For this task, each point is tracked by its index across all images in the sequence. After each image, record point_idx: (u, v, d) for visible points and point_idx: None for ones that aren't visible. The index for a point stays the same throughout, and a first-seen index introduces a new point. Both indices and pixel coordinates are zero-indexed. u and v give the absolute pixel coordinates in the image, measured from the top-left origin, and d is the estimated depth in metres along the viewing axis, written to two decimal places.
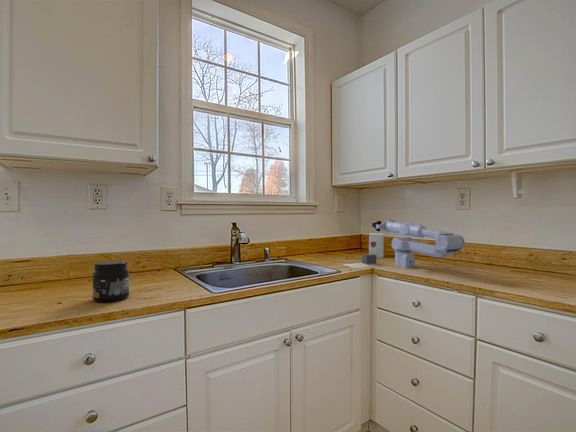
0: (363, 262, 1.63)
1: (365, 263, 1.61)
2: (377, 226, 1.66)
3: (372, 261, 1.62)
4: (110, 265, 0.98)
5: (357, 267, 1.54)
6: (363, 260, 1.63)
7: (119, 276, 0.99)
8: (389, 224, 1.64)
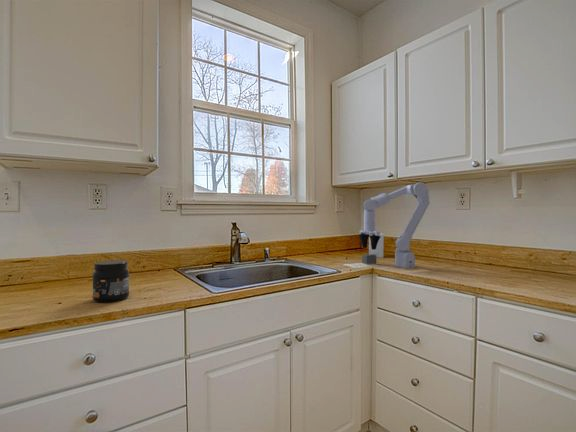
0: (363, 262, 1.63)
1: (365, 263, 1.61)
2: (378, 233, 1.57)
3: (372, 261, 1.62)
4: (110, 265, 0.98)
5: (357, 267, 1.54)
6: (363, 260, 1.63)
7: (119, 276, 0.99)
8: (370, 225, 1.60)
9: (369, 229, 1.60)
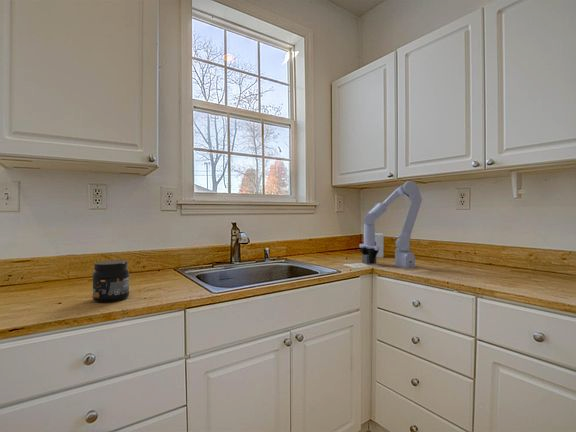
0: (363, 262, 1.63)
1: (365, 263, 1.61)
2: (378, 248, 1.57)
3: None
4: (110, 265, 0.98)
5: (357, 267, 1.54)
6: (363, 260, 1.63)
7: (119, 276, 0.99)
8: (369, 240, 1.60)
9: (369, 243, 1.61)
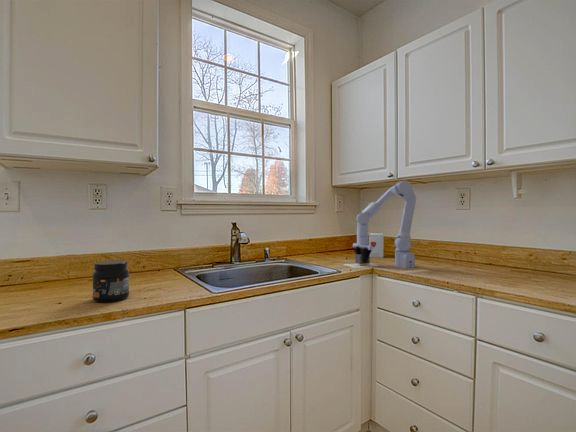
0: (356, 262, 1.61)
1: (358, 263, 1.60)
2: (371, 247, 1.55)
3: None
4: (110, 265, 0.98)
5: (357, 267, 1.54)
6: (356, 260, 1.61)
7: (119, 276, 0.99)
8: (363, 239, 1.59)
9: (362, 243, 1.59)
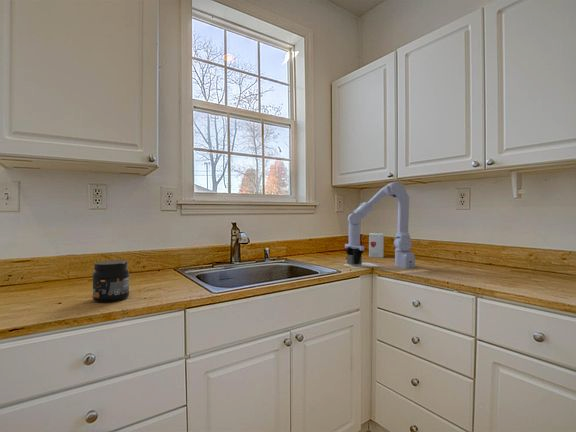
0: (348, 263, 1.59)
1: (350, 264, 1.58)
2: (362, 248, 1.53)
3: None
4: (110, 265, 0.98)
5: (357, 267, 1.54)
6: (348, 261, 1.59)
7: (119, 276, 0.99)
8: (354, 239, 1.57)
9: (354, 243, 1.57)
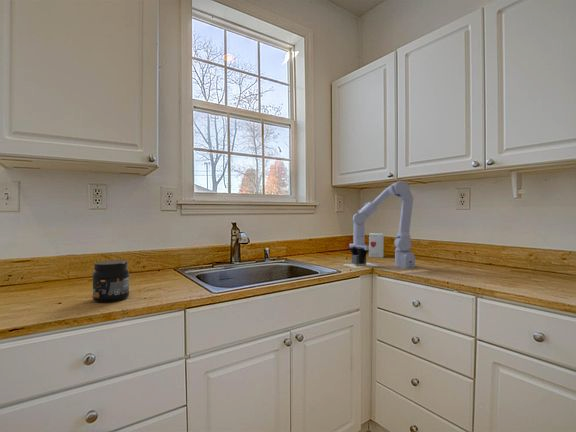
0: (353, 262, 1.61)
1: (355, 263, 1.59)
2: (367, 247, 1.54)
3: None
4: (110, 265, 0.98)
5: (357, 267, 1.54)
6: (353, 260, 1.61)
7: (119, 276, 0.99)
8: (359, 239, 1.58)
9: (358, 243, 1.58)
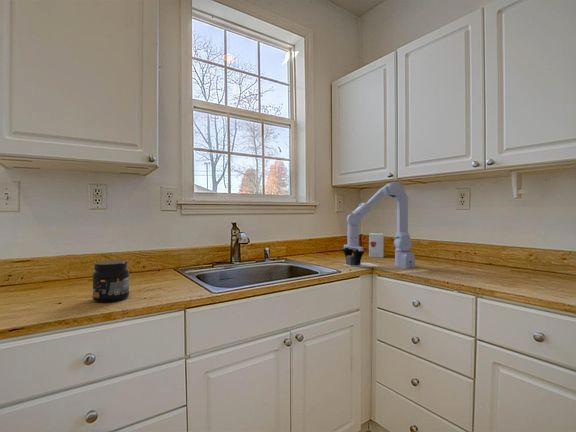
0: (347, 263, 1.59)
1: (349, 264, 1.58)
2: (361, 248, 1.53)
3: None
4: (110, 265, 0.98)
5: (357, 267, 1.54)
6: (347, 261, 1.59)
7: (119, 276, 0.99)
8: (353, 240, 1.57)
9: (353, 244, 1.57)
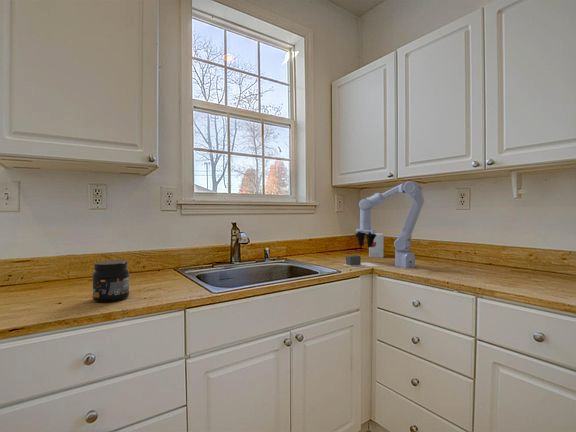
0: (347, 263, 1.59)
1: (349, 264, 1.58)
2: (373, 231, 1.63)
3: (356, 262, 1.58)
4: (110, 265, 0.98)
5: (357, 267, 1.54)
6: (347, 261, 1.59)
7: (119, 276, 0.99)
8: (366, 224, 1.67)
9: (365, 228, 1.67)
